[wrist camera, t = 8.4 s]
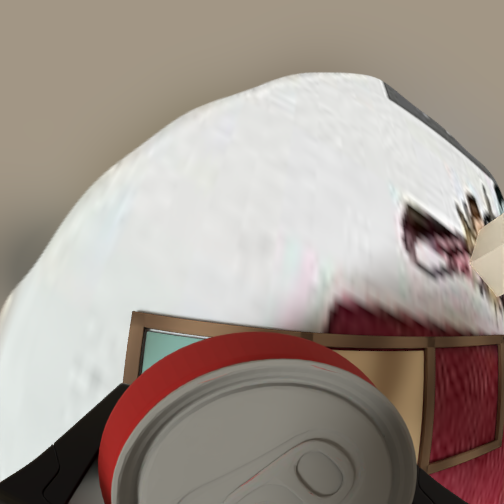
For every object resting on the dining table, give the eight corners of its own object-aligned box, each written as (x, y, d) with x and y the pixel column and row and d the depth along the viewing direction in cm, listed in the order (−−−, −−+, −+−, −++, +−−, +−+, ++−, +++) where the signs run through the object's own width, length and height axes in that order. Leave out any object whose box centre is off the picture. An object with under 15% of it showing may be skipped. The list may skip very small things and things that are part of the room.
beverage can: (128, 407, 14) (-1, 451, 3) (229, 334, 16) (304, 237, 6) (212, 501, 13) (252, 658, 2) (308, 427, 15) (482, 468, 4)
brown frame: (501, 335, 22) (504, 334, 21) (498, 445, 18) (501, 446, 17) (133, 312, 18) (132, 310, 17) (118, 483, 13) (116, 485, 13)
